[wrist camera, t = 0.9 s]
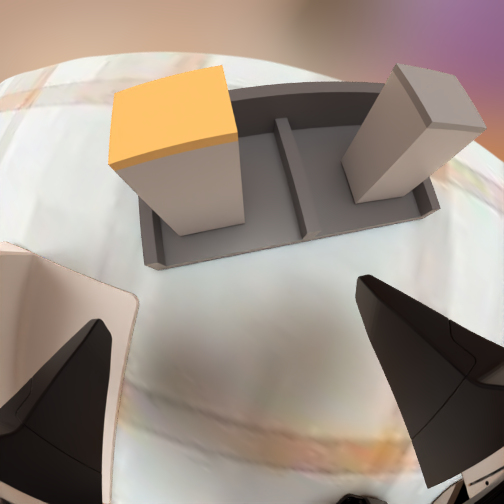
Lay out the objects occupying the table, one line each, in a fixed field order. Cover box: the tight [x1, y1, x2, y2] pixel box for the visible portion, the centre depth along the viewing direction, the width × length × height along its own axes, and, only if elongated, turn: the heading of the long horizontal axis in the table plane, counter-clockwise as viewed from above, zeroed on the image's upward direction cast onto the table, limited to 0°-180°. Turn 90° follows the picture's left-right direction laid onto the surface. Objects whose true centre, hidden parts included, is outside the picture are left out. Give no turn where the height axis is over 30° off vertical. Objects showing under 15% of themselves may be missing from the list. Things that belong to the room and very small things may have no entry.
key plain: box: [341, 63, 487, 204], centre depth 16 cm, size 4×5×12 cm
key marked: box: [108, 65, 245, 236], centre depth 15 cm, size 4×5×12 cm
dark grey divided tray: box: [138, 82, 441, 270], centre depth 19 cm, size 11×24×7 cm, turn 101°
